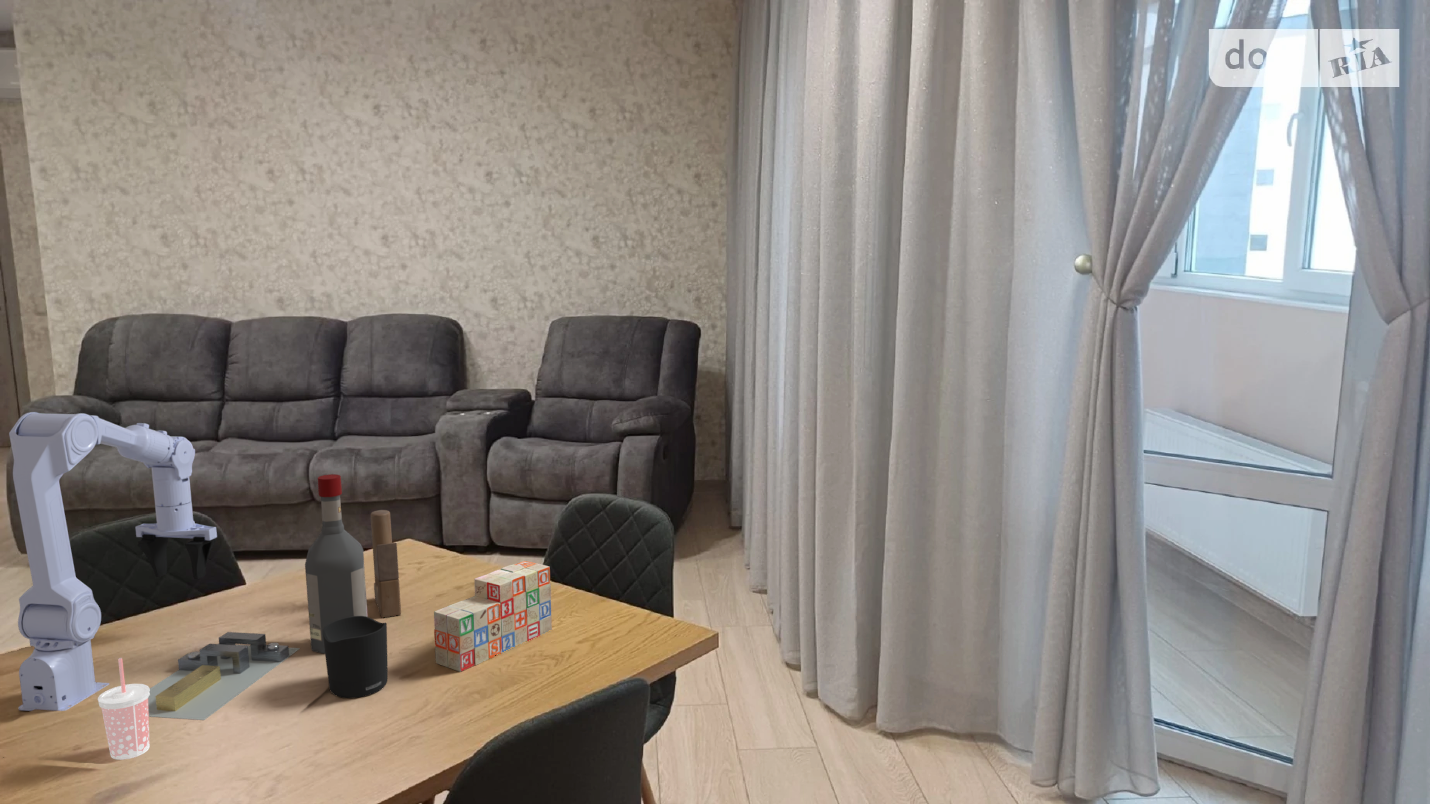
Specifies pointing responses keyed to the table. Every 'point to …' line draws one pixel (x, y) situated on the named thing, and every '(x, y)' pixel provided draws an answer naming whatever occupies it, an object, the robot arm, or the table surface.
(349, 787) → the table surface
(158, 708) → the link bar
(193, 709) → the mat
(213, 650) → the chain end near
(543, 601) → the stack of blocks
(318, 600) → the liquor
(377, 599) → the wooden block
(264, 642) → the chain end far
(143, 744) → the beverage cup
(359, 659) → the pen holder
